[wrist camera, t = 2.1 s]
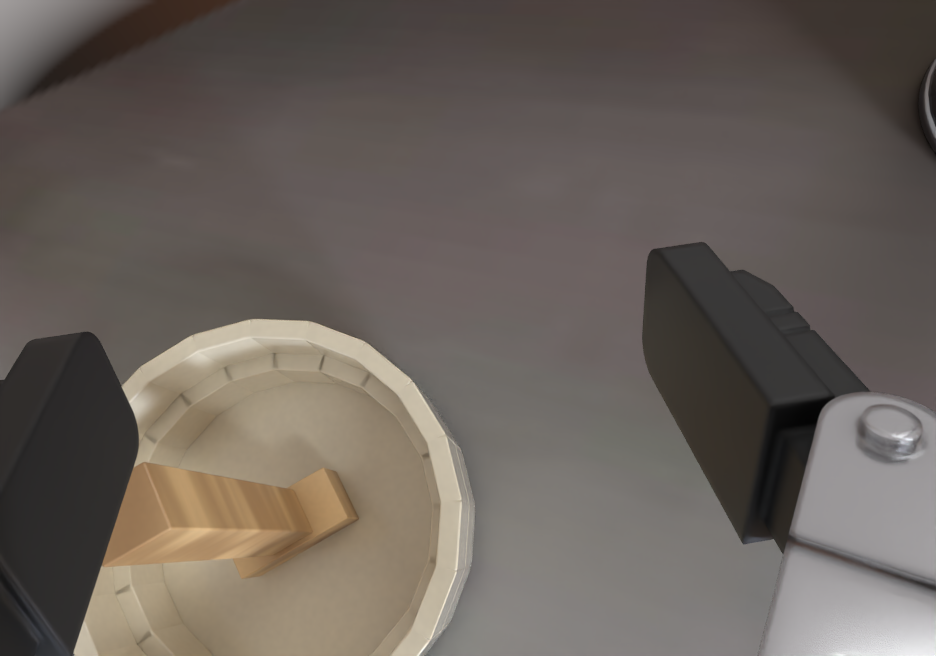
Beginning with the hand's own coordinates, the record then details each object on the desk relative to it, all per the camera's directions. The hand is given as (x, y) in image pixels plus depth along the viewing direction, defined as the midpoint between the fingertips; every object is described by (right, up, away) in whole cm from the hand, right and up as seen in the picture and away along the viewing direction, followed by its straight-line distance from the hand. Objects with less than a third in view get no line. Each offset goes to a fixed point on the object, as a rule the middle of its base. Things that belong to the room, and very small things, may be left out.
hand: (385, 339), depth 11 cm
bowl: (-6, -9, +22) cm, 24 cm away
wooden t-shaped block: (-6, -8, +21) cm, 24 cm away
